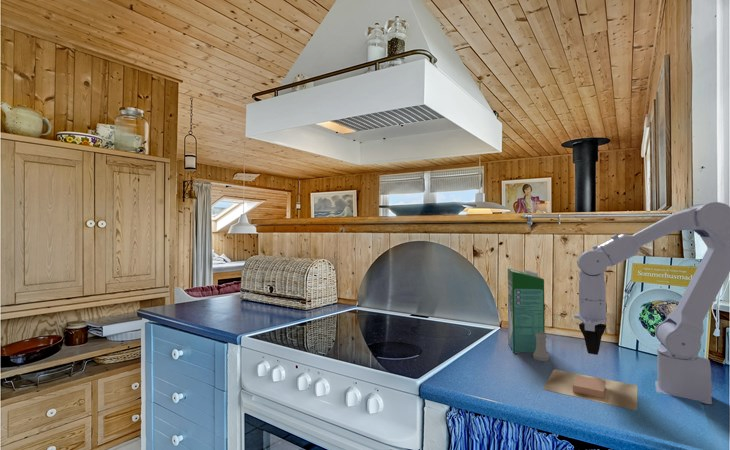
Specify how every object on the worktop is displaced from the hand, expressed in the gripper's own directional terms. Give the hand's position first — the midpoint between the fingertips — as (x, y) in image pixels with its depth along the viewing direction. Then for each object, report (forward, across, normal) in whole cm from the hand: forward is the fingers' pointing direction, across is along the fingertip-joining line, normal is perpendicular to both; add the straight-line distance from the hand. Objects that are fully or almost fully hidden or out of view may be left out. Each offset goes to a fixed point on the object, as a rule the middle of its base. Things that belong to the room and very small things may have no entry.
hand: (593, 353), depth 95 cm
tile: (+5, +5, 0) cm, 7 cm away
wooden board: (+7, +6, 0) cm, 9 cm away
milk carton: (+7, -16, -20) cm, 26 cm away
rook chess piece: (+7, -8, -14) cm, 17 cm away
